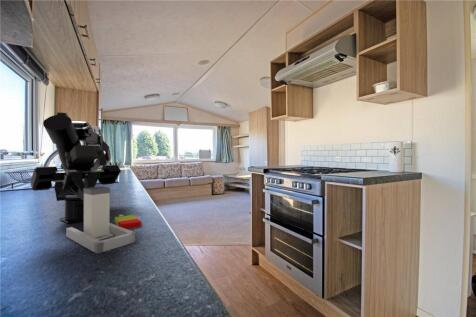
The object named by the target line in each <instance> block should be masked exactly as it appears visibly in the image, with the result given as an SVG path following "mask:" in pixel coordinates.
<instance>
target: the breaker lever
mask: <svg viewBox="0 0 476 317" xmlns="http://www.w3.org/2000/svg"><path fill="white" fill-rule="evenodd" d="M110 194H111V187H109V186H108V187H107V186H95V187H89V188H84V221H83V233H86V234H88V235H90V236H92V237H94V238H96V237H100V236H104V235H108V234H109V223H110Z"/></svg>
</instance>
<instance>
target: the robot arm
mask: <svg viewBox="0 0 476 317" xmlns="http://www.w3.org/2000/svg"><path fill="white" fill-rule="evenodd" d="M42 125H43V127H44V130H46V133H47V135H48V137H49V138H50V140H51V142H52V143H53V144H54V145H55V147H56V150H57V154H58V157H59V160H60V164H61V165H60V169H61V170H63V172H58V167H57V166H36V167H35V168H34V169H33V172H32V175H31V178H30V186H31V190H33V191H35V192H37V191H47V190H50V189H51V188H52V187H53V184H52V182H53V183H54V192H55V193H54V194H55V198H56V201H57V202H60V201H64V217H59V220H60V221H61V222H64V223H66V224H72V223H73V224H74V223H78V222H82V221H83V222H84V188H89V187H96V184H97V182H98V183H99V184H101V185H113V184H115V183H116V181H117V179H118V177H119V175H120V174H121V172H122V170H121V168H120V166H119V165H118V164H109V162H110V161H111V158H112V157H111V156H112V154H111V150H110V149H111V148H110V145H108V144H107V143H106V142H105V141H104V137H103V135H102V134H99V133H97V132H95V131H94V130H93V127H92V126H91V125H90V123H89V122H88V121H76V120H75V121H72V119H71V117H70V116H69V115H68V113H67V112H61V111H57V113H56V114H55V115H51V116H49V117H47V118H45V119H44V120H43V123H42ZM82 143H83V144H82ZM84 143H85V144H84ZM100 167H101V169H99V168H100Z"/></svg>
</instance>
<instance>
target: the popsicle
mask: <svg viewBox="0 0 476 317" xmlns="http://www.w3.org/2000/svg"><path fill="white" fill-rule="evenodd" d="M113 222H114V224H115V223H116V224H115V225H117V226H119V227H122V228H125V229H127V230H131V229H134V228H135V229H136V228H140V227H142V221H141V220H140V219H139V218H138V217H137V216H136V215H135V214H130V215H123V214H122V213H120V214H118V216H115V217H113Z"/></svg>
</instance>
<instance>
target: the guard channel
mask: <svg viewBox="0 0 476 317" xmlns="http://www.w3.org/2000/svg"><path fill="white" fill-rule="evenodd" d="M65 233H66V234H65V235H66V238H69V239H70V240H72V241H74V242H76V243H77V244H79V245H80V246H82V247H84V248H86V249H88V250H89V251H91V252H93V253H95V254H97V255H98V254H101V253H104V252H108V251H111V250H113V249H117V248H120V247H124V246H126V245H127V246H128V245H130V244H133V243H136V242H137V232H135V231H132V230H131V229H125V228H122V227H119V226H117V225H116V224H115V223H114V224H113V223H112V222H109V234H108V235H104V236H100V237H96V238H94V237H92V236H90V235H88V234H86V233H84V231H81V230H79V229H77V228H75V227H73V226H70V227H66V229H65Z"/></svg>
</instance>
